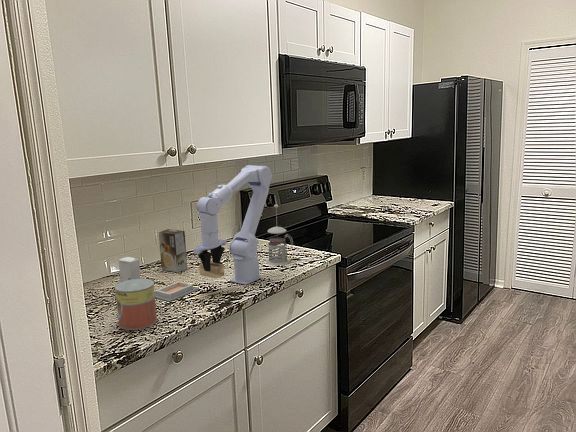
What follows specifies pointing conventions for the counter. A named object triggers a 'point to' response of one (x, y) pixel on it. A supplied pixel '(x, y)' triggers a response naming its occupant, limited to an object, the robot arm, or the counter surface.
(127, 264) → the skincare box
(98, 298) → the counter surface
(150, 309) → the canned food
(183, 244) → the coffee box
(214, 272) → the maple block
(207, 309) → the counter surface
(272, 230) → the french press
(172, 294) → the board
